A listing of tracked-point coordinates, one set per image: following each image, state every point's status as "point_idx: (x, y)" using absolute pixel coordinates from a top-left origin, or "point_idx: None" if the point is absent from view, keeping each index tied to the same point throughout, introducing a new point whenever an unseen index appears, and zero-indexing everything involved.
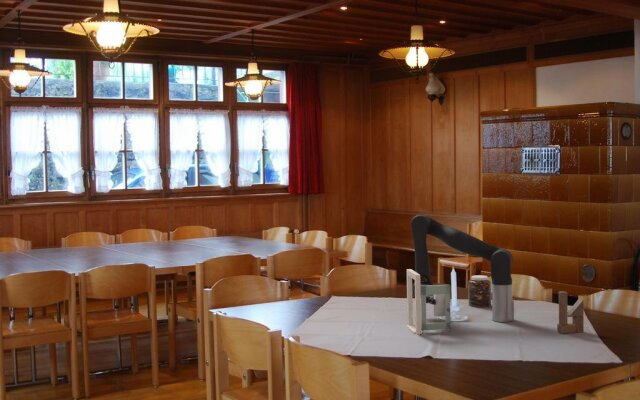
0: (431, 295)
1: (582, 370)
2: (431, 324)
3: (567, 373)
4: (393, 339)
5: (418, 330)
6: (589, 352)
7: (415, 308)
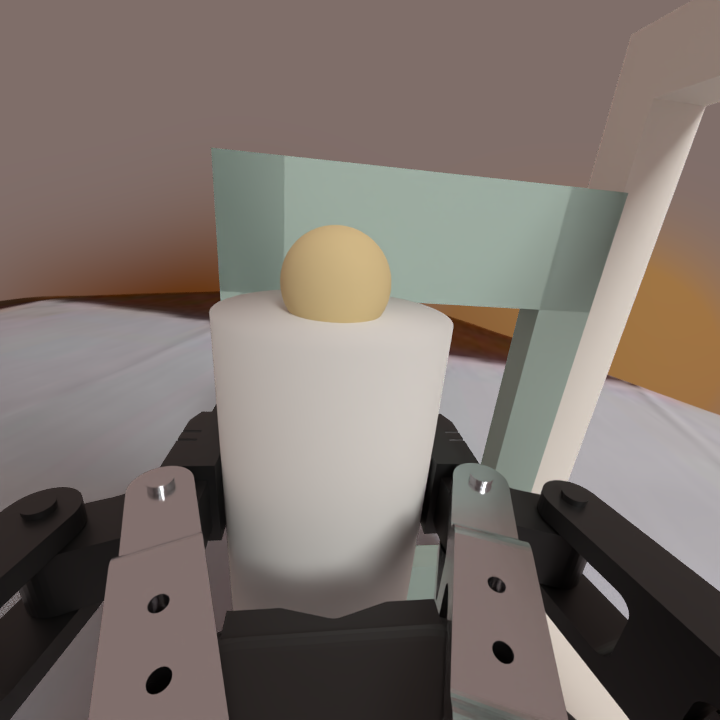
0: (511, 575)
1: (166, 297)
2: (416, 551)
3: (202, 296)
4: (604, 491)
5: None
6: (14, 324)
7: (582, 422)
